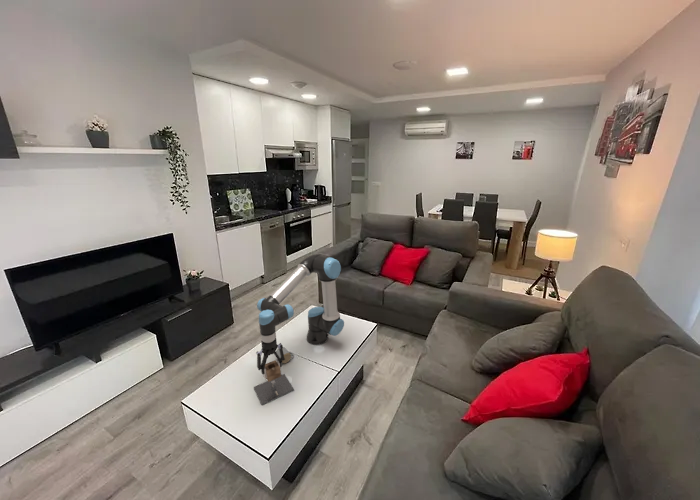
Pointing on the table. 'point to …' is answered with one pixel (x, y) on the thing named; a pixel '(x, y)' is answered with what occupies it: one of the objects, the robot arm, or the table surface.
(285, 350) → the ceramic mug
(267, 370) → the brown cardboard box
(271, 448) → the table surface
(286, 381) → the metal panel
